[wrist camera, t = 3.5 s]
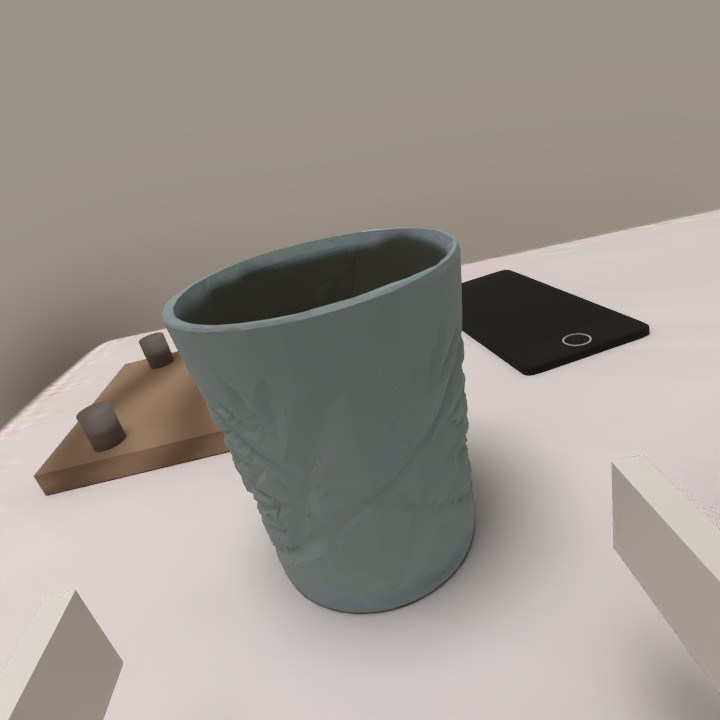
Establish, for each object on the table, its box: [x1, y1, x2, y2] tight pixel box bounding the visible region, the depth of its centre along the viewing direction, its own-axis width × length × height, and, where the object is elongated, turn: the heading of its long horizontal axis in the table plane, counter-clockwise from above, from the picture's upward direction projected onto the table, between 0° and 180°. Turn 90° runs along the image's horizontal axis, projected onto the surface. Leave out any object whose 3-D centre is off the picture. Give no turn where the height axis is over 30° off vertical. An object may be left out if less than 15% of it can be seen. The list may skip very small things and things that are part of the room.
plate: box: [34, 333, 229, 495], centre depth 37 cm, size 20×16×4 cm
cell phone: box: [462, 270, 649, 375], centre depth 39 cm, size 9×18×1 cm, turn 15°
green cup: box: [162, 227, 475, 613], centre depth 20 cm, size 10×10×12 cm
